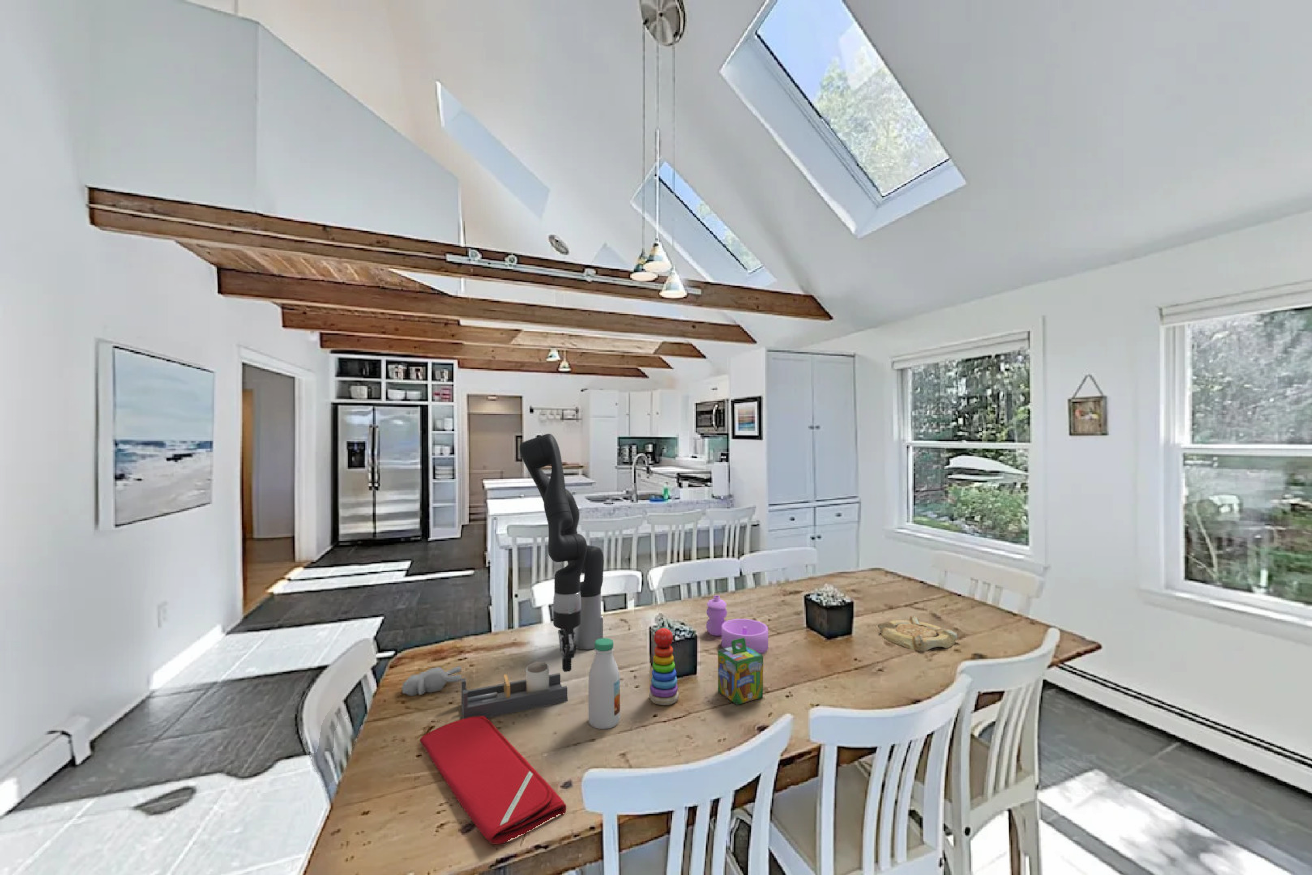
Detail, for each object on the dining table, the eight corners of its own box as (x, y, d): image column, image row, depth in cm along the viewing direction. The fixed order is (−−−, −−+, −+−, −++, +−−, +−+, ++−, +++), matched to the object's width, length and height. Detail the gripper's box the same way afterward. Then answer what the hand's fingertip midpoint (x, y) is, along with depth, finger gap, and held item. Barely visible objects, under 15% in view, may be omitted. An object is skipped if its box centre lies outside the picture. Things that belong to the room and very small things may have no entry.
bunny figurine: (403, 672, 149) (459, 657, 154) (406, 689, 149) (462, 674, 154) (400, 687, 140) (459, 671, 145) (402, 705, 140) (462, 689, 145)
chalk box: (736, 706, 137) (736, 649, 137) (716, 691, 145) (716, 637, 145) (764, 697, 141) (764, 643, 141) (743, 683, 150) (743, 631, 149)
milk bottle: (607, 733, 125) (606, 650, 125) (582, 724, 129) (581, 643, 129) (626, 718, 131) (625, 638, 131) (601, 709, 136) (601, 632, 135)
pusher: (506, 692, 142) (506, 674, 142) (510, 704, 136) (510, 685, 135) (463, 701, 137) (463, 682, 137) (465, 713, 131) (465, 693, 131)
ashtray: (971, 653, 170) (971, 637, 170) (897, 652, 170) (897, 637, 170) (934, 625, 194) (934, 612, 194) (868, 625, 194) (869, 612, 194)
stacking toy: (685, 698, 141) (685, 629, 141) (664, 710, 135) (664, 637, 135) (663, 688, 147) (663, 621, 146) (643, 699, 141) (643, 629, 141)
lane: (559, 685, 149) (559, 660, 149) (567, 701, 140) (567, 674, 140) (461, 704, 139) (461, 677, 138) (463, 722, 130) (463, 694, 130)
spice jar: (547, 686, 146) (546, 659, 146) (551, 696, 140) (550, 668, 140) (524, 691, 143) (524, 663, 143) (528, 701, 138) (527, 672, 138)
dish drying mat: (486, 721, 131) (486, 706, 131) (569, 814, 100) (569, 794, 99) (419, 745, 121) (419, 729, 121) (487, 857, 90) (487, 835, 90)
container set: (777, 648, 174) (777, 608, 174) (745, 660, 165) (745, 618, 165) (725, 625, 194) (725, 589, 194) (693, 635, 185) (693, 597, 185)
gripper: (549, 601, 150) (548, 662, 150) (558, 616, 137) (557, 683, 137) (575, 599, 152) (574, 658, 152) (586, 613, 140) (586, 678, 140)
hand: (566, 670), depth 145 cm, fingers closed
